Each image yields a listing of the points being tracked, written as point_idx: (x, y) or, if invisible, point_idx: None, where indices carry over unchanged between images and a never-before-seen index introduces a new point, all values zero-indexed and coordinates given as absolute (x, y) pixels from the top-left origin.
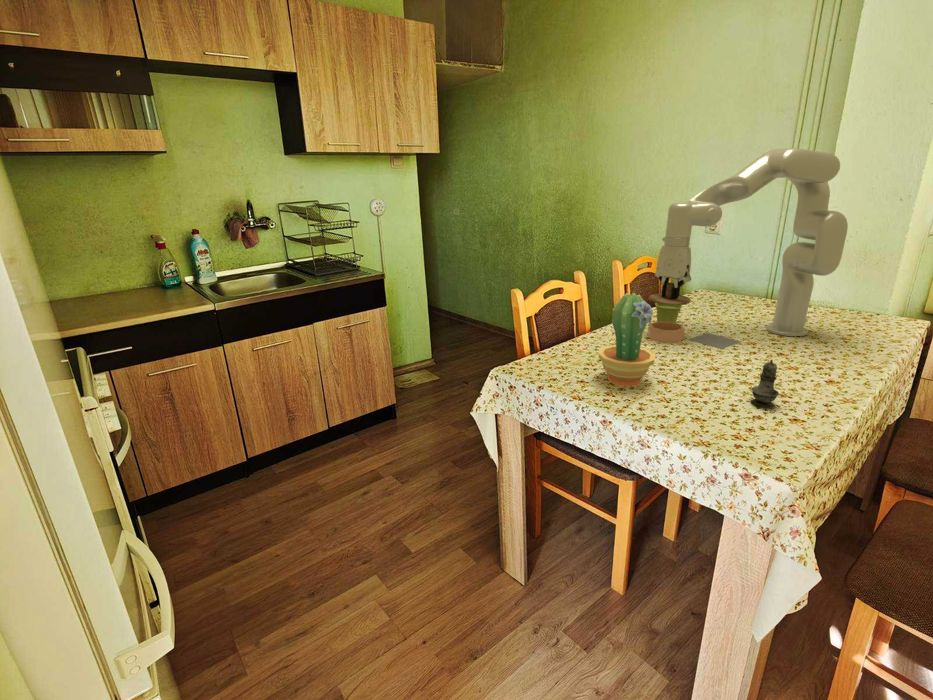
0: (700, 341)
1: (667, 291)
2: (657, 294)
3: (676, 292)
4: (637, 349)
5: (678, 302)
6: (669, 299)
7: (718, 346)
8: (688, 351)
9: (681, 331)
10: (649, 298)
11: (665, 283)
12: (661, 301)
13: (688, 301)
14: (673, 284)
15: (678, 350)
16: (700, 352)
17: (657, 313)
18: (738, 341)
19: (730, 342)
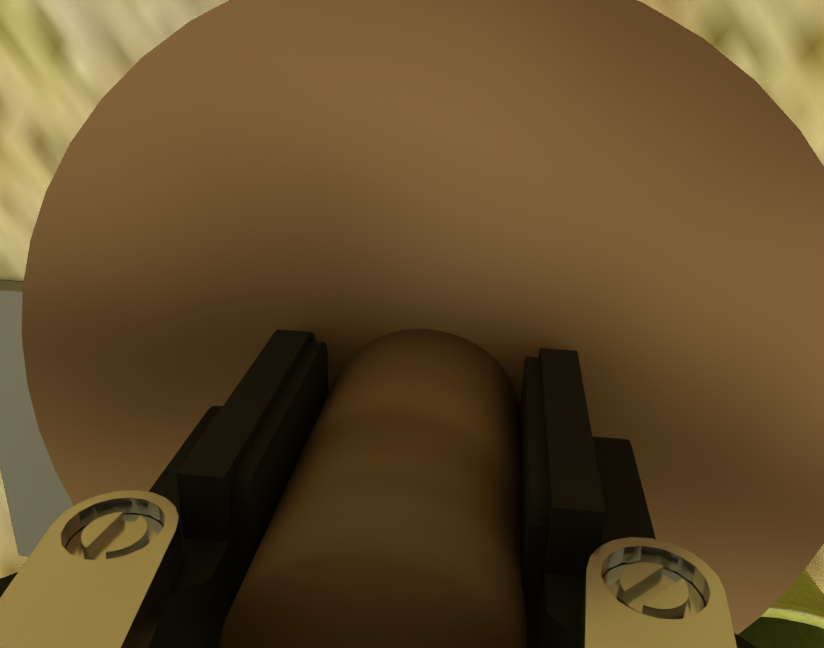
0: None
1: (417, 413)
2: (787, 510)
3: (187, 452)
4: None
5: (68, 218)
6: (349, 310)
7: (18, 328)
8: (116, 63)
9: None
10: (775, 106)
11: (564, 624)
12: None
13: (42, 435)
14: (238, 602)
15: (184, 8)
16: (46, 129)
17: (808, 580)
18: (33, 544)
19: (43, 484)
